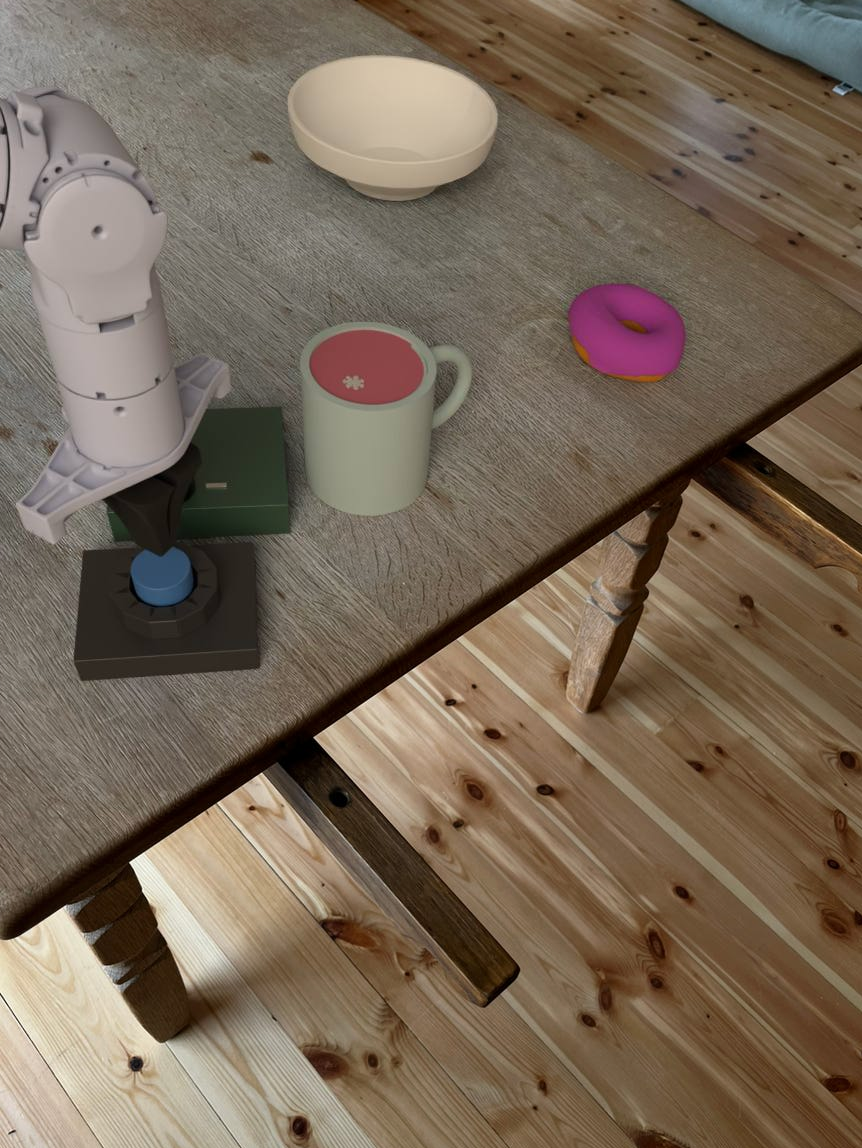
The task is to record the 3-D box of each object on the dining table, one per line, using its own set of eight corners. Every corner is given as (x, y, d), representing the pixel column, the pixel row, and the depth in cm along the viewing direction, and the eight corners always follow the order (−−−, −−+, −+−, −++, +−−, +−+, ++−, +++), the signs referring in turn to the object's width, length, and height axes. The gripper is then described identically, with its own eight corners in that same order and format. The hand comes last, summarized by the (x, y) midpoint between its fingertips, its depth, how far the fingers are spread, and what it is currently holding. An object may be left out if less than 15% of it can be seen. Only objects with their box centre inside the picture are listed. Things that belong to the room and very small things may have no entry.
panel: (113, 563, 71) (104, 532, 68) (121, 441, 78) (113, 409, 75) (291, 554, 73) (289, 523, 70) (284, 436, 80) (281, 404, 77)
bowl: (253, 154, 102) (247, 80, 97) (416, 109, 111) (420, 39, 105) (361, 258, 94) (362, 183, 88) (530, 202, 102) (540, 130, 97)
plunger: (134, 608, 64) (129, 591, 63) (136, 564, 67) (131, 546, 65) (193, 605, 65) (190, 587, 64) (194, 561, 67) (190, 543, 66)
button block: (80, 681, 65) (66, 644, 62) (89, 571, 70) (77, 531, 67) (259, 669, 67) (255, 632, 64) (255, 562, 72) (251, 523, 69)
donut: (674, 402, 87) (689, 358, 83) (554, 379, 87) (563, 334, 83) (681, 327, 93) (694, 283, 89) (569, 306, 93) (578, 261, 89)
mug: (347, 533, 75) (347, 428, 67) (282, 454, 79) (274, 346, 71) (499, 465, 80) (516, 361, 72) (431, 394, 84) (440, 288, 76)
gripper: (146, 263, 57) (180, 447, 68) (-60, 411, 49) (15, 592, 60) (252, 312, 55) (269, 492, 66) (57, 473, 47) (113, 647, 58)
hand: (155, 543), depth 63 cm, fingers closed
